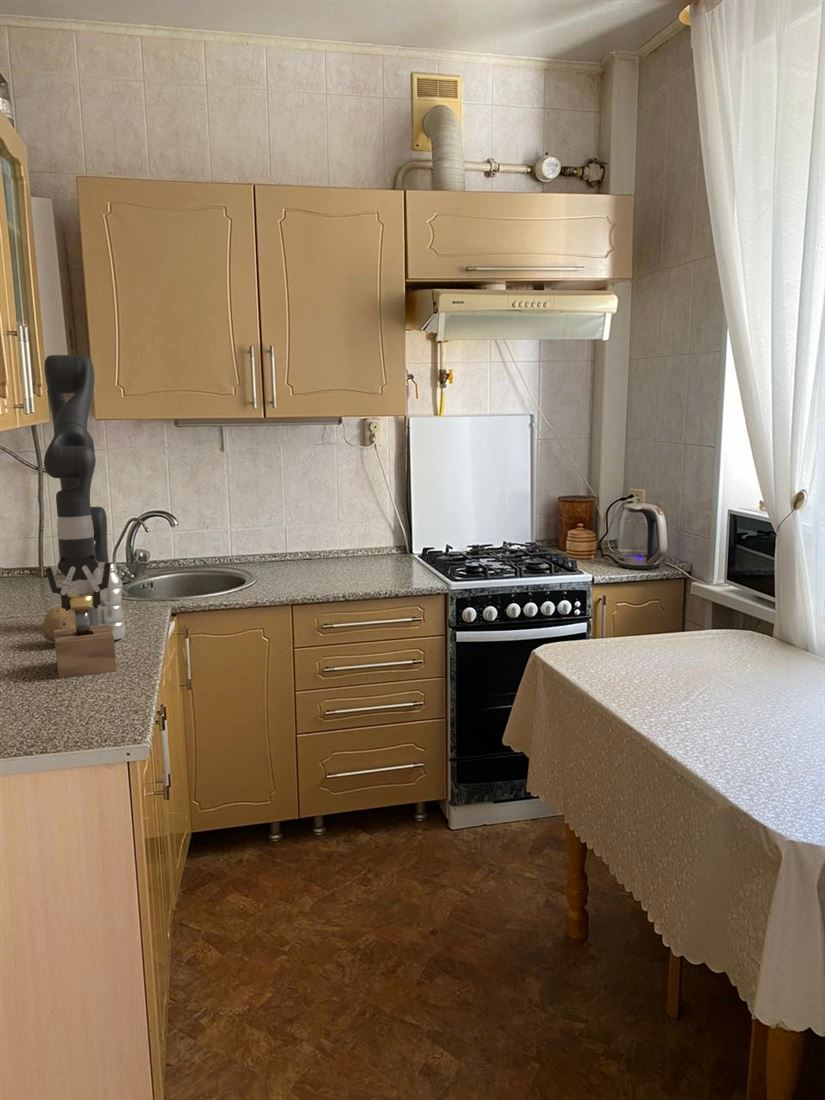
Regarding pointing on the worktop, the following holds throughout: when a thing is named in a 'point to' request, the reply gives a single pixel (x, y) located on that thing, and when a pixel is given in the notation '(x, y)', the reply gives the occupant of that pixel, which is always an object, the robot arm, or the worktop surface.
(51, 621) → the natural sponge
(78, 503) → the robot arm
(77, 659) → the block
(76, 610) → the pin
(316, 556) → the worktop surface
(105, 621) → the plastic bottle
